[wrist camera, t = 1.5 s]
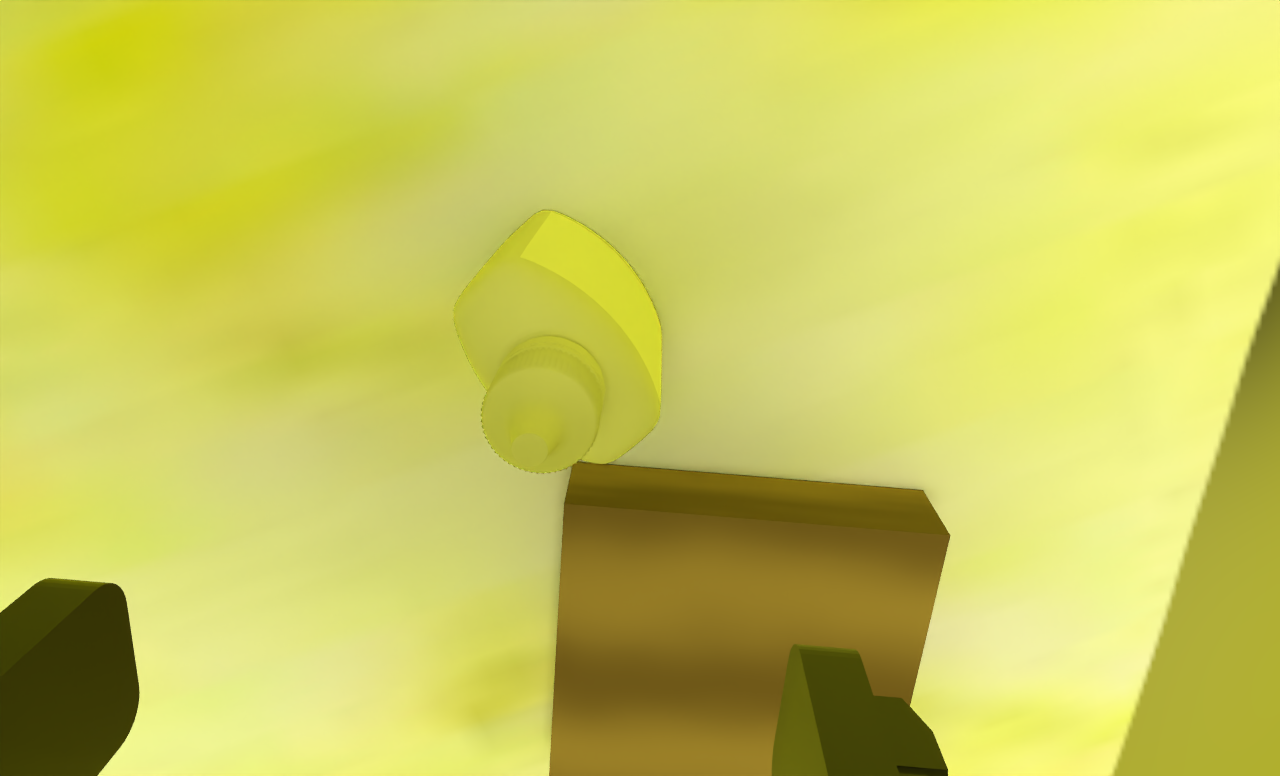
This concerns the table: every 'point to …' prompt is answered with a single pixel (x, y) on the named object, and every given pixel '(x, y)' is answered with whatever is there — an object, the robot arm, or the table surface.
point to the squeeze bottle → (561, 347)
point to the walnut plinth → (724, 610)
